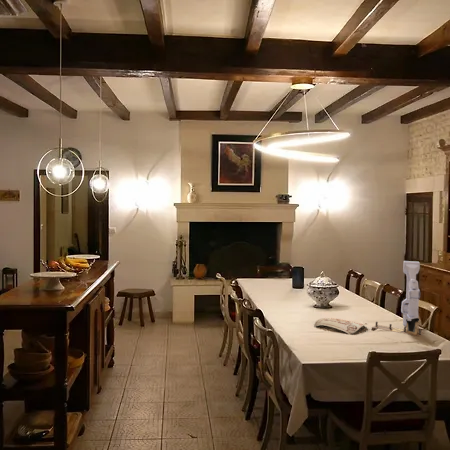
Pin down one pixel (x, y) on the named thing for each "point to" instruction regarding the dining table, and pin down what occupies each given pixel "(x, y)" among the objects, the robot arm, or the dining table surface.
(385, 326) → the peg board
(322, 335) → the dining table surface
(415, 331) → the light brown rectangular slab
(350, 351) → the dining table surface
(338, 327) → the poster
